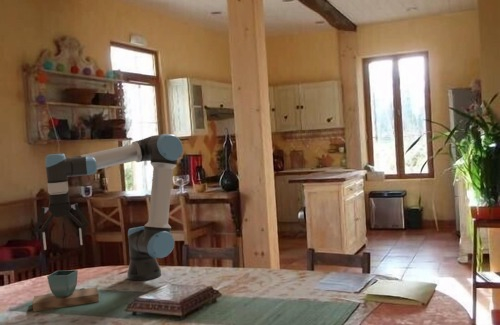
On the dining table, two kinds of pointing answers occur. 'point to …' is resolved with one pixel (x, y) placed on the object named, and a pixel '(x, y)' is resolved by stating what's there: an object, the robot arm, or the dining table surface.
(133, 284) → the dining table surface
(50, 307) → the walnut board
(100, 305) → the dining table surface
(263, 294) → the dining table surface
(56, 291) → the flower pot
